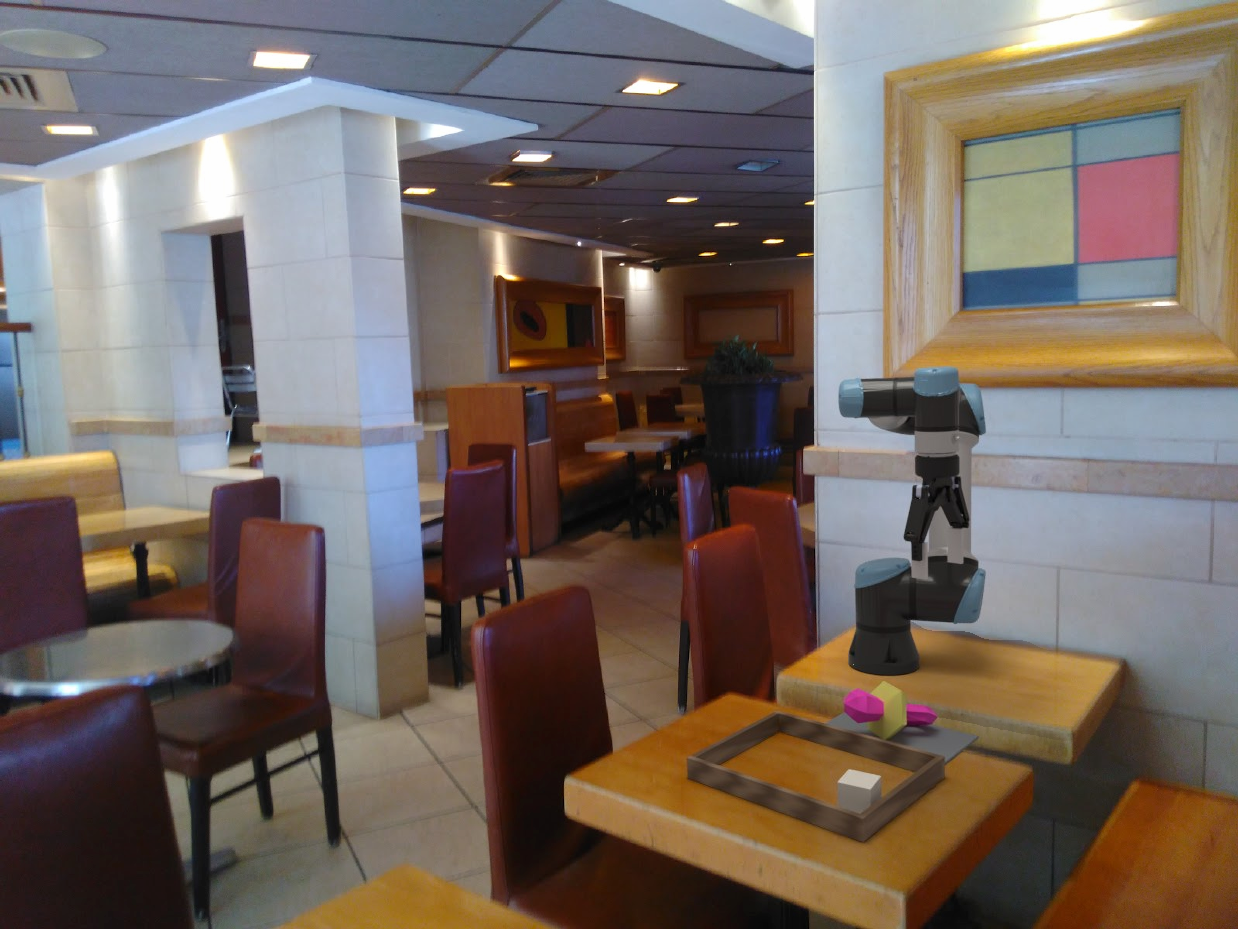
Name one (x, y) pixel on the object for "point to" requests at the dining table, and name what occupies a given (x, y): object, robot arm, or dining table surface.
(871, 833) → the brown wooden frame
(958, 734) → the mat
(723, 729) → the dining table surface
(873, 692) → the toy
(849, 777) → the cream block
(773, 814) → the dining table surface
